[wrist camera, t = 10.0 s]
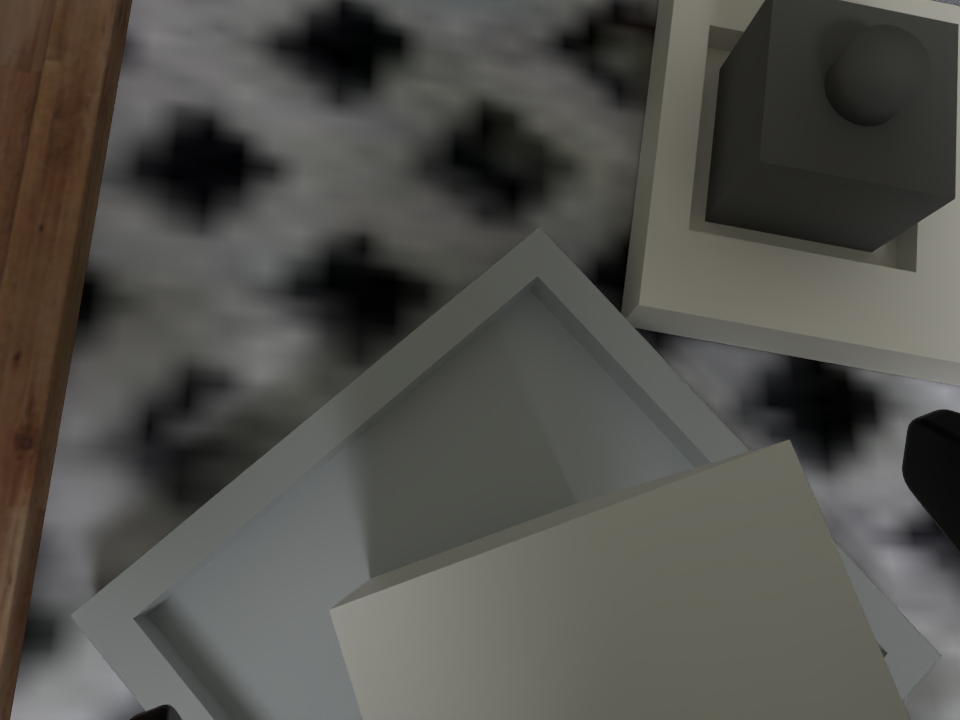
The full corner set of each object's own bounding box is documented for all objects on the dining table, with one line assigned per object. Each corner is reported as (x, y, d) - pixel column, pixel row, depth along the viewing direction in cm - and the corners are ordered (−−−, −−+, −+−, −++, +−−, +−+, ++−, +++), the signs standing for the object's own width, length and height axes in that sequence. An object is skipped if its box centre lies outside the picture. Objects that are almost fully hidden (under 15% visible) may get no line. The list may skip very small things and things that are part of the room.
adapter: (650, 688, 17) (983, 865, 7) (433, 777, 16) (482, 1108, 7) (579, 501, 18) (797, 437, 8) (369, 579, 17) (328, 610, 7)
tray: (901, 648, 18) (941, 655, 17) (495, 1109, 15) (504, 1163, 14) (529, 249, 19) (539, 226, 18) (96, 610, 17) (69, 615, 15)
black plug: (878, 100, 20) (991, -7, 16) (871, 252, 19) (990, 176, 15) (719, 69, 20) (796, -48, 16) (704, 221, 19) (782, 135, 15)
